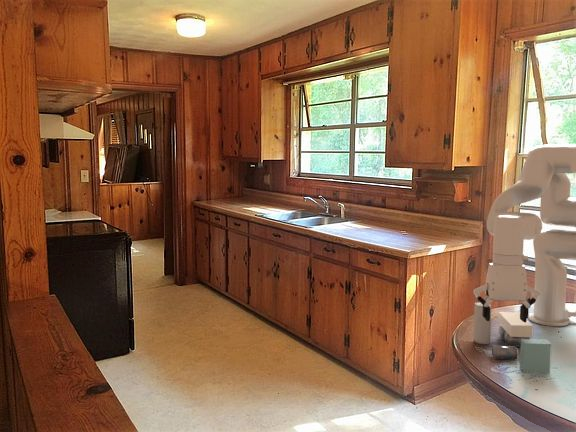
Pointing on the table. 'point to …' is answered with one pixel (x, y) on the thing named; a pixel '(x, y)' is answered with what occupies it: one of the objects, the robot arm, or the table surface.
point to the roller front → (513, 340)
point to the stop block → (535, 356)
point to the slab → (515, 324)
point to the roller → (504, 352)
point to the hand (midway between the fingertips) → (504, 320)
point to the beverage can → (481, 325)
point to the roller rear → (502, 332)
